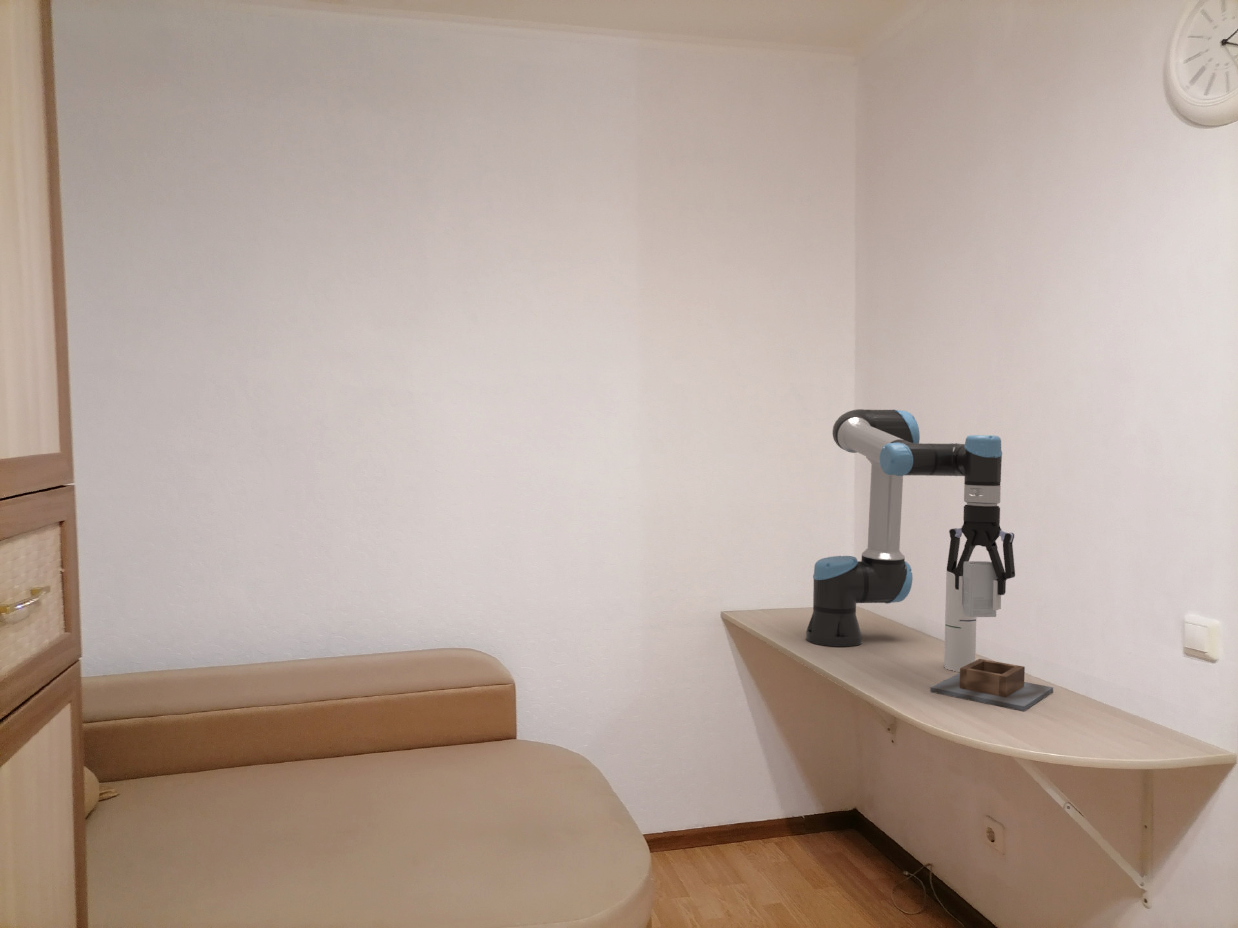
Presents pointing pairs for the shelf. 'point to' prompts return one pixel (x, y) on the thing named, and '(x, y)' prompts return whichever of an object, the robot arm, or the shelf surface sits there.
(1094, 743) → the shelf surface
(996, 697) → the socket
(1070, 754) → the shelf surface
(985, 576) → the skincare box
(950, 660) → the cylindrical container
